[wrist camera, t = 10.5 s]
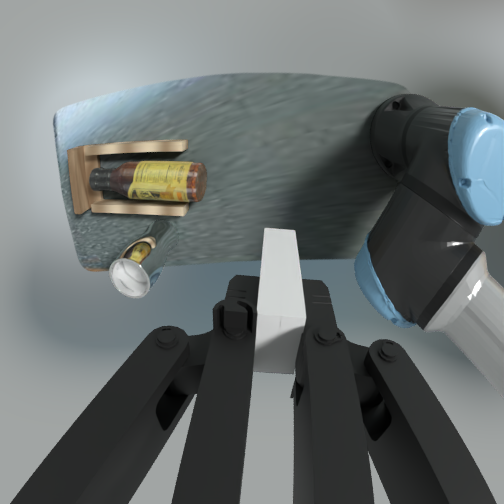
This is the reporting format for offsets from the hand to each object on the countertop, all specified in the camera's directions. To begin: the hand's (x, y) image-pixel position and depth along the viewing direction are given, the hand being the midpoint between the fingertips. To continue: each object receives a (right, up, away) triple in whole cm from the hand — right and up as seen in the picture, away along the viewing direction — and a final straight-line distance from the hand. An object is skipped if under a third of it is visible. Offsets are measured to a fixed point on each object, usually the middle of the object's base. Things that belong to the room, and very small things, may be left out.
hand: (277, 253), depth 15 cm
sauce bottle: (-8, +11, +28) cm, 31 cm away
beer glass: (-17, +3, +37) cm, 41 cm away
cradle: (-22, +13, +32) cm, 41 cm away
